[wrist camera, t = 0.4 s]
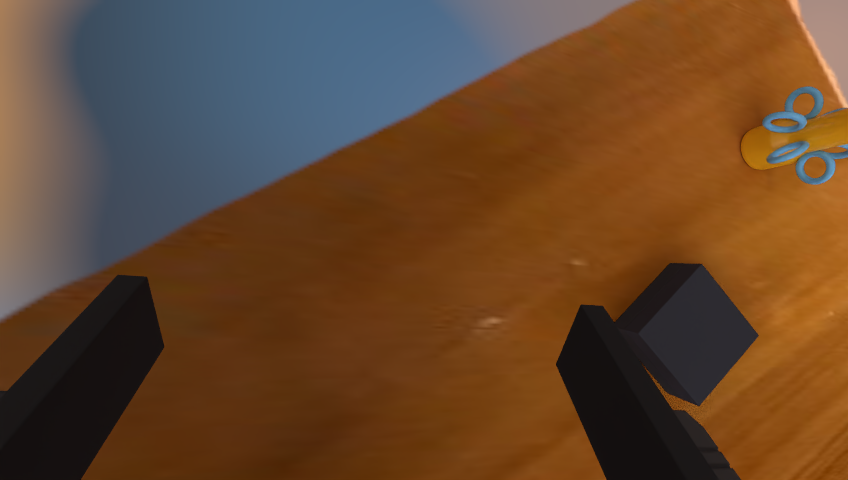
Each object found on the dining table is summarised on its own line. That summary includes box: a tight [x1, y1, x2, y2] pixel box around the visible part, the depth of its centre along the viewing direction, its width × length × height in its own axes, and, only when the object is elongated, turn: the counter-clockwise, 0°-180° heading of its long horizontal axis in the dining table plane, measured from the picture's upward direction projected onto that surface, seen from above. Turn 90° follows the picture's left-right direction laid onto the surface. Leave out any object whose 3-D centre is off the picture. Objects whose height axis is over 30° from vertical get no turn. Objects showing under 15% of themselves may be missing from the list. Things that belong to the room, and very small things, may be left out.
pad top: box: [624, 264, 759, 406], centre depth 51 cm, size 12×12×2 cm
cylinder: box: [741, 87, 848, 184], centre depth 51 cm, size 12×10×15 cm
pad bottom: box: [615, 263, 685, 399], centre depth 54 cm, size 12×12×2 cm
